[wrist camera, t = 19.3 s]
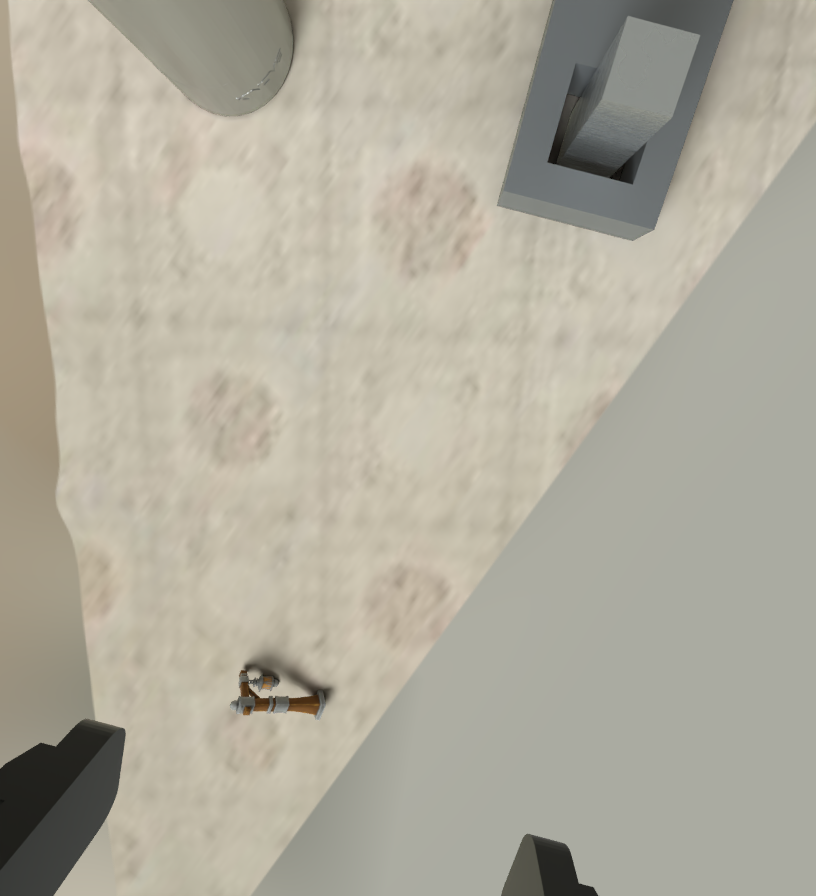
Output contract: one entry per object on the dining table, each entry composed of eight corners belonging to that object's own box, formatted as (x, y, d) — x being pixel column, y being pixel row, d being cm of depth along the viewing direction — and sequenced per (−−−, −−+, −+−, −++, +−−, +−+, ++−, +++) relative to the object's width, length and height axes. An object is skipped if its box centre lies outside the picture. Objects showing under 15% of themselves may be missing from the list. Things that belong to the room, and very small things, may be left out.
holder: (632, 240, 34) (654, 229, 31) (496, 205, 34) (503, 190, 31) (746, -96, 30) (785, -152, 26) (589, -136, 30) (609, -197, 26)
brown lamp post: (233, 663, 43) (233, 704, 39) (318, 668, 46) (326, 706, 42) (227, 680, 43) (227, 722, 39) (312, 683, 47) (319, 722, 43)
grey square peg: (604, 182, 34) (672, 117, 24) (554, 169, 34) (602, 98, 24) (622, 125, 33) (700, 34, 23) (571, 112, 33) (627, 15, 23)
